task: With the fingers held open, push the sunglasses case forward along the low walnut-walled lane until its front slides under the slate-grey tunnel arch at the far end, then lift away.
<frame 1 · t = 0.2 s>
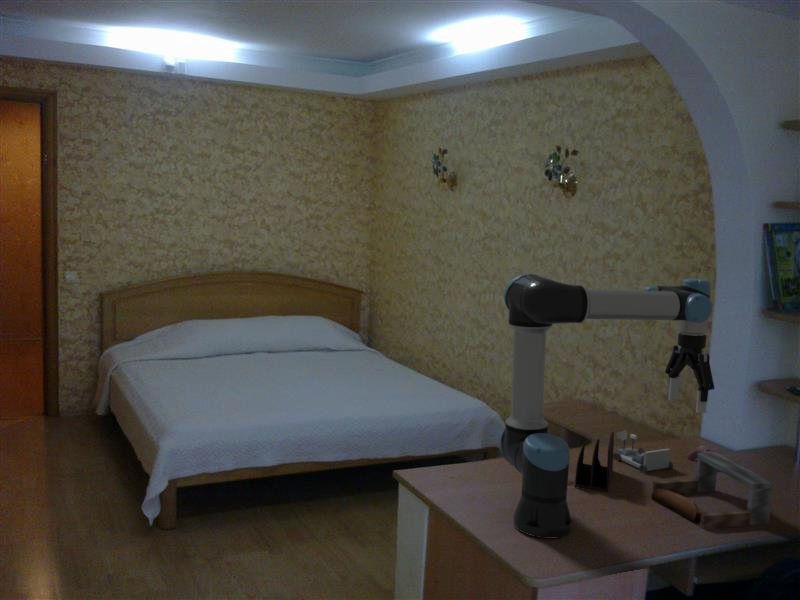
hand: (686, 405, 224), 27 cm above the table, tool pointing down, fingers open, 13 cm apart
video game controller: (700, 464, 257), on the table
letter holder: (593, 480, 240), on the table
walled lane: (707, 507, 220), on the table
sunglasses case: (683, 511, 219), on the table
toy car: (639, 464, 256), on the table
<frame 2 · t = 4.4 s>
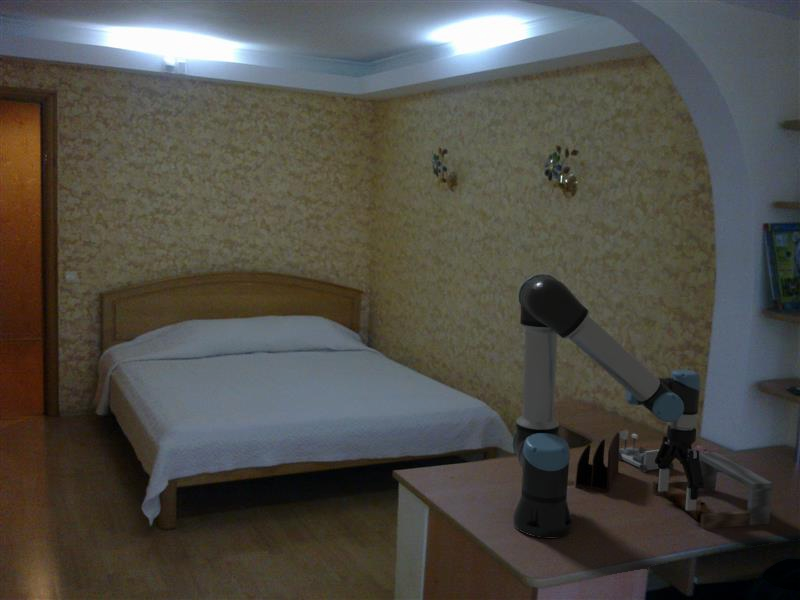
hand: (676, 500, 217), 3 cm above the table, tool pointing down, fingers open, 13 cm apart
sunglasses case: (693, 511, 219), on the table
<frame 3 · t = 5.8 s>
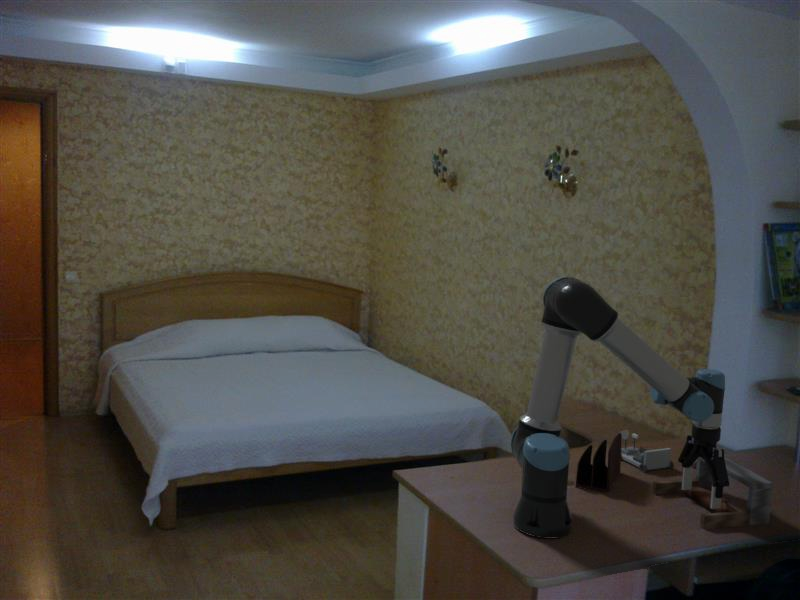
hand: (700, 498, 219), 3 cm above the table, tool pointing down, fingers open, 13 cm apart
sunglasses case: (715, 509, 221), on the table
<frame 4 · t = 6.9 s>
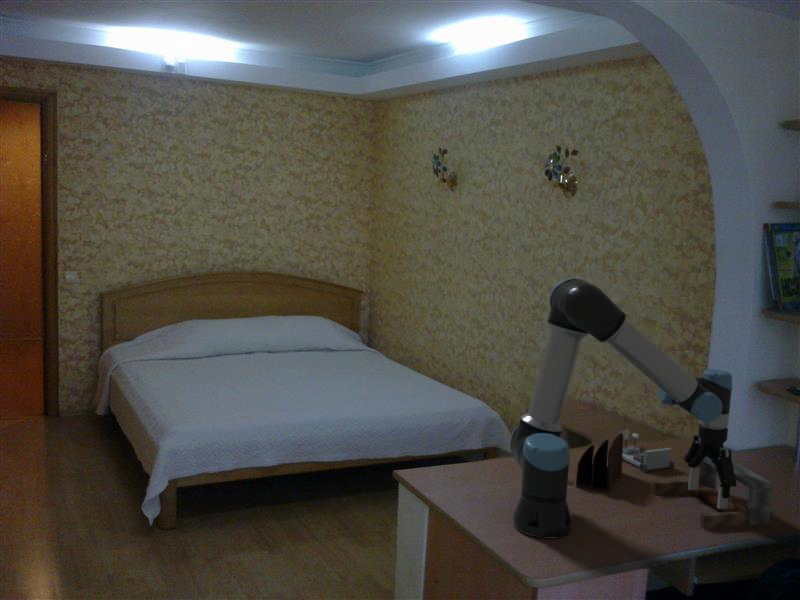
hand: (707, 498, 220), 3 cm above the table, tool pointing down, fingers open, 13 cm apart
sunglasses case: (723, 509, 221), on the table
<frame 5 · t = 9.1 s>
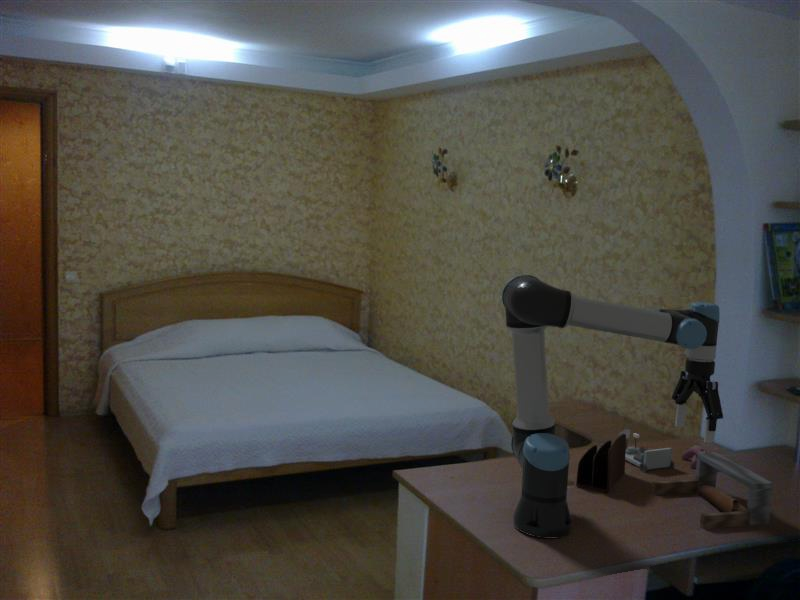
hand: (693, 434, 216), 22 cm above the table, tool pointing down, fingers open, 13 cm apart
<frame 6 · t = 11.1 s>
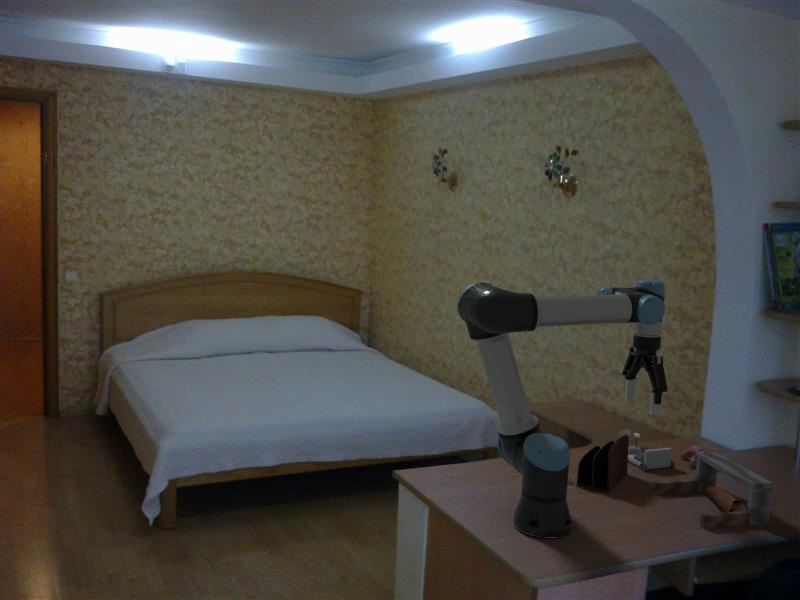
hand: (641, 408, 222), 27 cm above the table, tool pointing down, fingers open, 13 cm apart
at the end: sunglasses case inside the target area (1.0 cm from its centre), on the table; sunglasses case moved 14.7 cm from its start; the gripper is holding nothing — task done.
